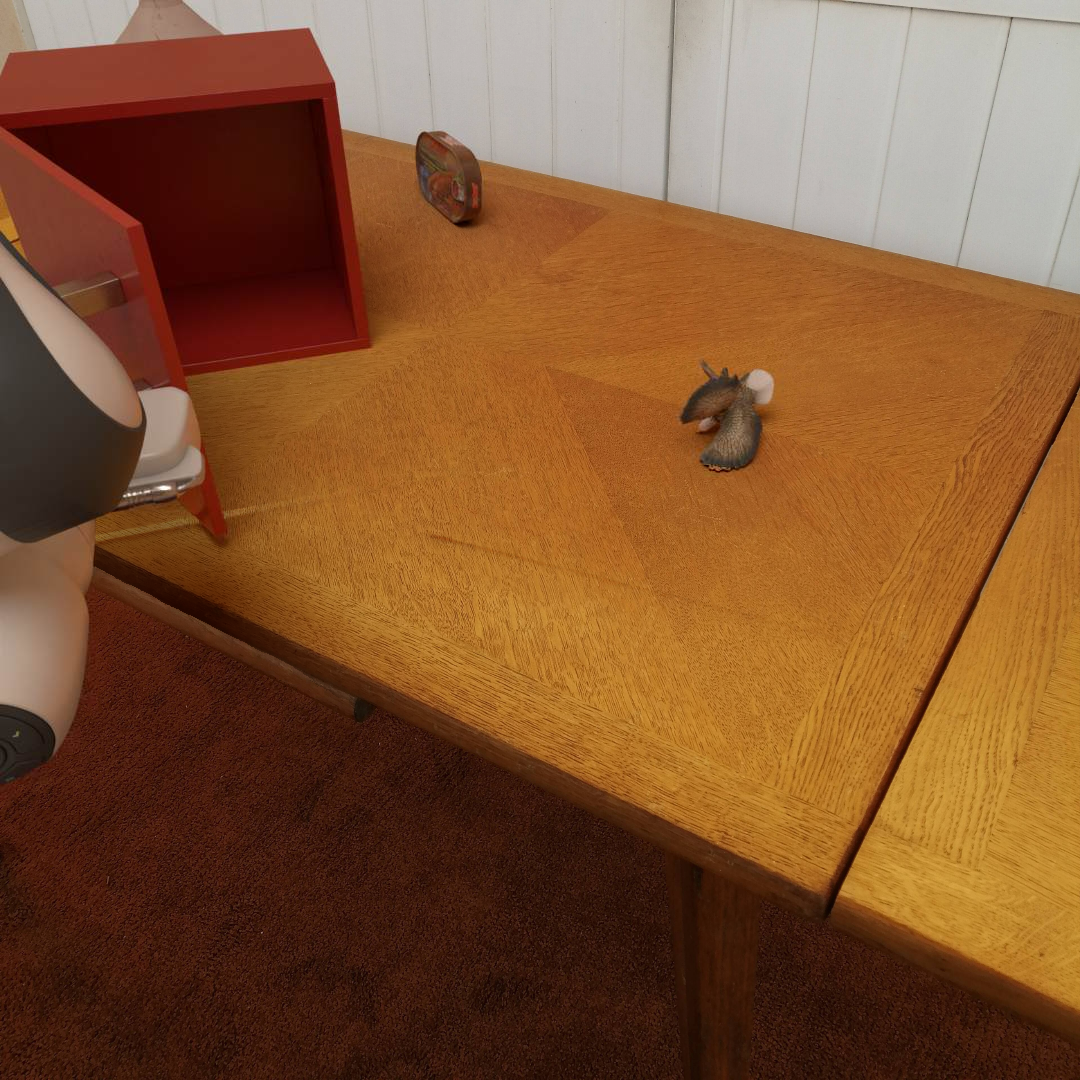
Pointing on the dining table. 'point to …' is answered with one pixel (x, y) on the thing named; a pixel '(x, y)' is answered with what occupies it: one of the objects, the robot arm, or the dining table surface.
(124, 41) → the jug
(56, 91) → the red cabinet
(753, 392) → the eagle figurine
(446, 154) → the tin
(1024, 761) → the dining table surface
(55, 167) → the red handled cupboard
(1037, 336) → the dining table surface
